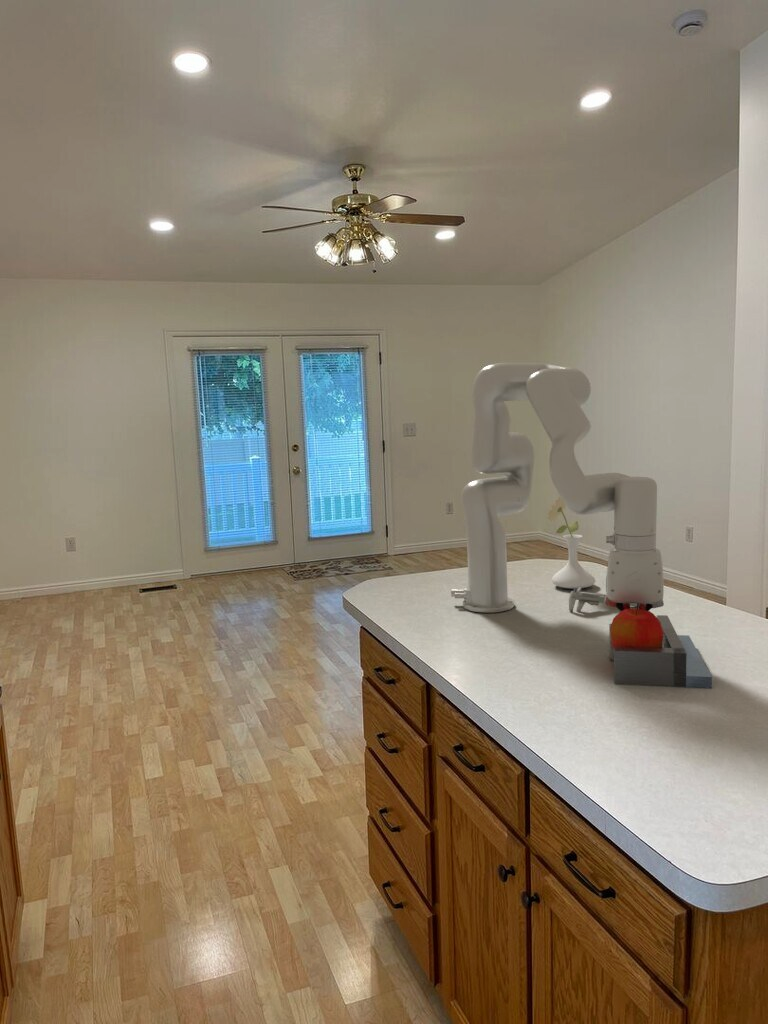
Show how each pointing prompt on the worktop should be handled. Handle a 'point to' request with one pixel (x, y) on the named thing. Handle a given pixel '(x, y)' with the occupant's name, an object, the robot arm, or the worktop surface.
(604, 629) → the worktop surface
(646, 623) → the apple
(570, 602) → the caliper
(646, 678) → the bracket
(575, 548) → the flower in vase
